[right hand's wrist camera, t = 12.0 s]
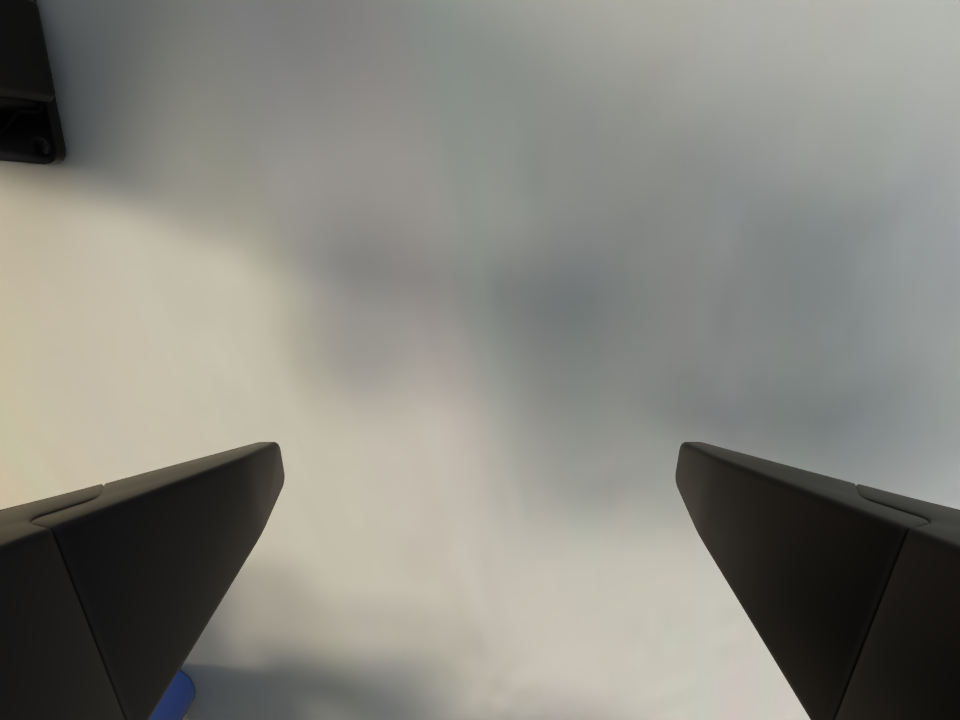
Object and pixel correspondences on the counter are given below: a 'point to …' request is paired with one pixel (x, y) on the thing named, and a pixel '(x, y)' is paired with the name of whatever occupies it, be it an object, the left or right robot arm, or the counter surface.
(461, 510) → the counter surface
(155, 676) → the right robot arm
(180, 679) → the canister
